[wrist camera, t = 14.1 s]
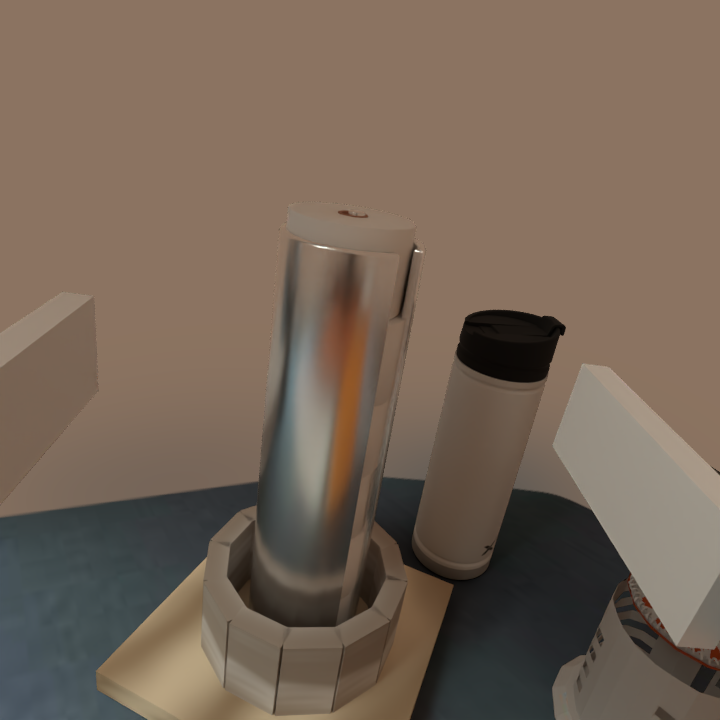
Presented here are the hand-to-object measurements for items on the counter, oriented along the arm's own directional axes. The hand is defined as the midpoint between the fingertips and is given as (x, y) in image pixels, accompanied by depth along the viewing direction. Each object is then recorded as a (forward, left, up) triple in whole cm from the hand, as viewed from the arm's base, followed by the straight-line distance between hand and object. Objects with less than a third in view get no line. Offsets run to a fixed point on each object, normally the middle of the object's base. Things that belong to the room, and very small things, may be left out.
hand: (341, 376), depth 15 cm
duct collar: (-4, +10, -24) cm, 26 cm away
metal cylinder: (-4, +10, -22) cm, 25 cm away
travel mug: (+3, +23, -24) cm, 33 cm away
